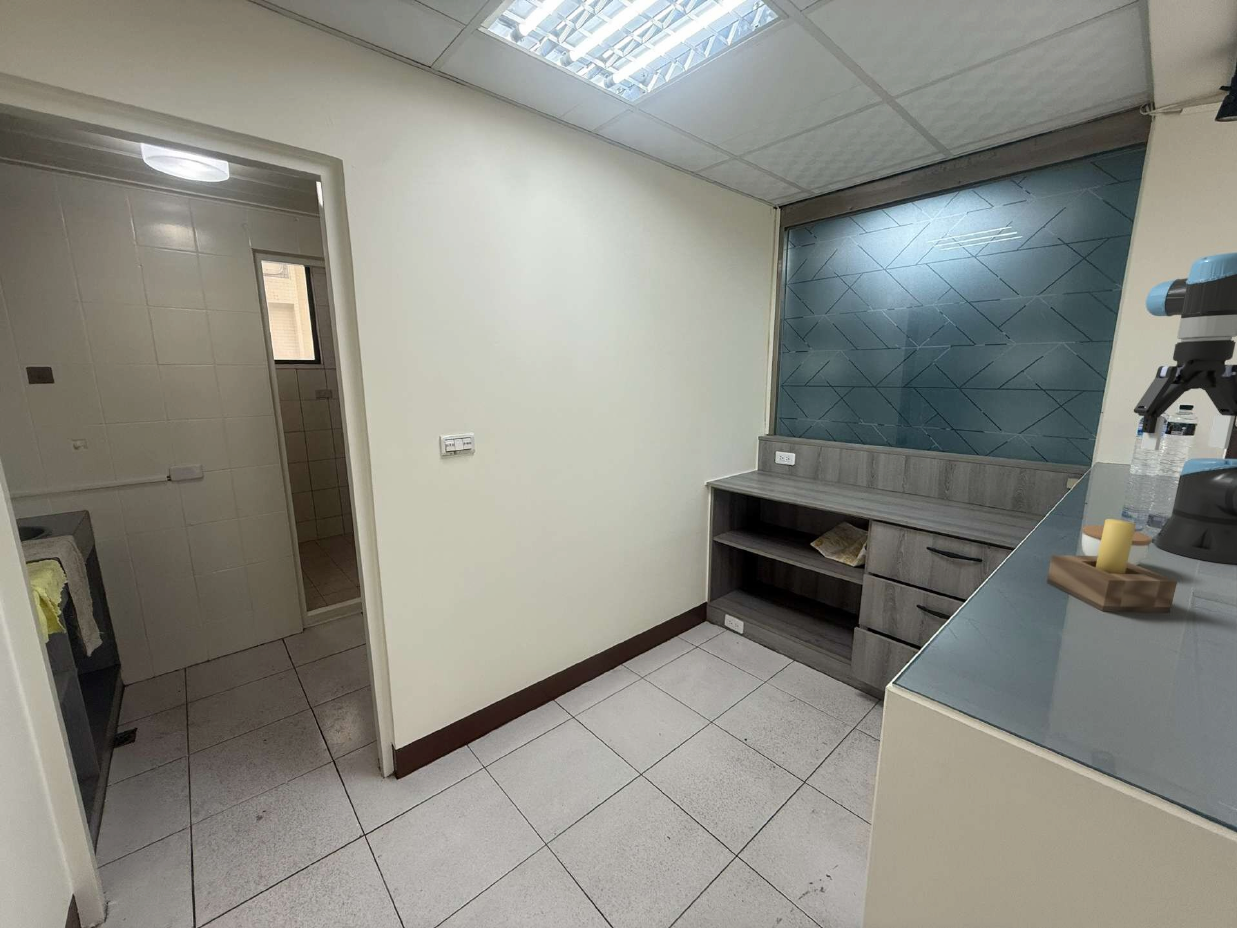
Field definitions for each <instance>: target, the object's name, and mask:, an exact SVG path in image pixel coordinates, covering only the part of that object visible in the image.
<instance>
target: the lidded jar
mask: <svg viewBox="0 0 1237 928" xmlns="http://www.w3.org/2000/svg"><path fill="white" fill-rule="evenodd" d="M1103 529H1104V525H1099V524H1098V525H1095V524H1093V525H1092V524H1091V525H1085V526H1083V527H1082V532H1081V533H1082V535H1081V549H1082V551H1083V553H1084V556H1098V553H1099V548H1100V543H1101V539H1102V534H1103ZM1151 543H1152V538H1151V537H1150V536H1148V535H1147V534H1144V533H1141V532H1138V531H1135V530H1134V535H1133V539H1132V544H1131V548H1130V553H1129V557H1128V562H1129V563H1131V564H1134V565H1136V566H1139V565H1140V564H1141V563H1142V561H1144V559H1145V557H1146V556H1147V554H1148V551H1149V548H1150V547H1149V546H1150V545H1151Z"/></svg>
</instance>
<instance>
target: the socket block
mask: <svg viewBox="0 0 1237 928" xmlns="http://www.w3.org/2000/svg"><path fill="white" fill-rule="evenodd" d="M1097 558H1098V556H1086V555H1067V554H1066V555H1061V554H1059V555H1057V554H1055V555H1051V558H1050V563H1049V569H1048V575H1047V581H1046V584H1048V585H1050V586H1052V587H1054V588H1056V589H1058V590H1060V591H1062V592H1064V593H1066V594H1067V595H1070V596H1072V597H1074V598H1075V599H1077V600H1080V601H1082V602H1084V603H1086V604H1088V605H1089V606H1092V607H1093V608H1096V609H1097V610H1099V611H1101V612H1133V613H1134V612H1136V613H1171V611H1172V610H1171V609H1172V605H1173V601H1174V596H1175V593H1176V588H1177V585H1178V581H1177V580H1174V579H1172V578H1170V577H1167V576H1164V575H1162V574H1160V573H1156V572H1154V571H1152V570H1150V569H1146V568H1144V567H1142V566H1139V565H1134V564H1131V563H1129V562H1127V566H1126V571H1125V574H1109V573H1107V572H1105V571H1102V570H1100V569H1098V568H1096V563H1097Z"/></svg>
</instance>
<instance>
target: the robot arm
mask: <svg viewBox="0 0 1237 928" xmlns="http://www.w3.org/2000/svg"><path fill="white" fill-rule="evenodd" d="M1145 308H1146V310H1147V312H1149V314H1151V315H1152V316H1155V317H1173V316H1180V322H1179V326H1178V332H1177V336H1176V338H1177V339H1178V340H1181V341H1179V342H1177V343H1176V344H1174V351H1173V355H1172V360H1173V361H1175V362H1176V365H1175V366H1174V365H1170V366H1169V365H1166V366H1165V365H1164V366H1163V365H1160V366H1159V367H1158V368H1157V371H1156V375H1155V377H1154V379H1153V380H1152V382H1151V383H1150V385H1149V386H1148V388H1147V389H1146V391H1145V393H1143V396H1142V397H1141V398H1140V400H1139V401H1138V403H1137V404H1136V406H1135V407H1134V409H1133V413H1135V414H1137V415H1138V417H1139V416H1141V417H1143V420H1142V425H1141V426H1142V427H1141V433H1143V434H1142V438H1141V443H1140V444H1141V445H1140V449H1143V450H1150V451H1159V449H1160V445H1161V439H1162V435H1163V431H1164V424H1165V419H1166V418H1165V417H1161V416H1162V415H1163V414H1164V413H1165V412H1166V411H1167V410H1168V409H1170V407H1171V406H1172V405H1173V404H1174V403H1175V402H1176V401H1177V400H1178V399H1179V398H1180V397H1181V396H1183V394H1184V393H1186V392H1188V391H1190V390H1198V389H1200V390H1202V391H1205V393H1206V394H1207V396H1208V397H1209V399H1210V401H1211V402H1212V404H1213V405H1214V407H1215V408H1216V410H1217V411H1218V412H1219V414H1214V415H1213V421H1212V425H1211V429H1210V435H1209V438H1208V444H1207V448H1208V447H1209V448H1215V449H1223V450H1226V449H1229V444H1230V439H1231V436H1232V432H1233V430H1234V429H1235V424H1236V420H1237V364H1226V361H1229V360H1231V359H1233V356H1234V351H1235V349H1236V348H1235V347H1236V341H1235V340H1234V339H1232V338H1236V337H1237V252H1227V253H1219V254H1212V255H1208V256H1203V257H1200V258H1198V259H1196V260H1195V261H1193V263H1192V264H1191V267H1190V270H1189V274H1188V277H1185V278H1176V279H1174V280H1173V279H1172V280H1169V281H1164V282H1161V283H1157V284H1156V285H1155V286H1153V288H1151V289H1150V291H1148V294H1147V297H1146V299H1145ZM1178 477H1179V479H1178V484H1177V489H1176V491H1175V497H1174V503H1173V507H1172V511H1171V515H1170V517H1169V518H1168V519H1167V521H1166V522H1165V523H1164V525H1163V526H1162V527H1161V529H1160V531H1159V532H1158V533H1157V534H1156V535H1155V539H1154V543H1153V544H1154V545H1155V547H1157V548H1160V549H1162V550H1164V551H1166V552H1169V553H1172V554H1175V555H1180V556H1183V557H1189V558H1193V559H1196V560H1201V561H1203V560H1204V561H1207V562H1214V563H1221V564H1232V565H1233V564H1234V565H1237V458H1203V457H1202V458H1201V457H1200V458H1197V457H1195V458H1190V459H1188V460H1186V461H1185V462H1184V463H1183V466H1182V470H1181V472H1180V473H1179V475H1178Z"/></svg>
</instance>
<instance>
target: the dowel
mask: <svg viewBox="0 0 1237 928" xmlns="http://www.w3.org/2000/svg"><path fill="white" fill-rule="evenodd" d="M1103 526H1104V529H1103V534H1102V539H1101V543H1100V548H1099V553H1098V558H1097V563H1096V568H1098V569H1100V570H1102V571H1105V572H1107V573H1109V574H1125V571H1126V566H1127V562H1128V557H1129V553H1130V548H1131V544H1132V539H1133V535H1134V531H1135V530H1136V523H1134V522H1131V521H1129V520H1128V521H1126V520H1122V519H1121V520H1120V519H1115V518H1106V519H1105V520H1104V525H1103Z"/></svg>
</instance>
